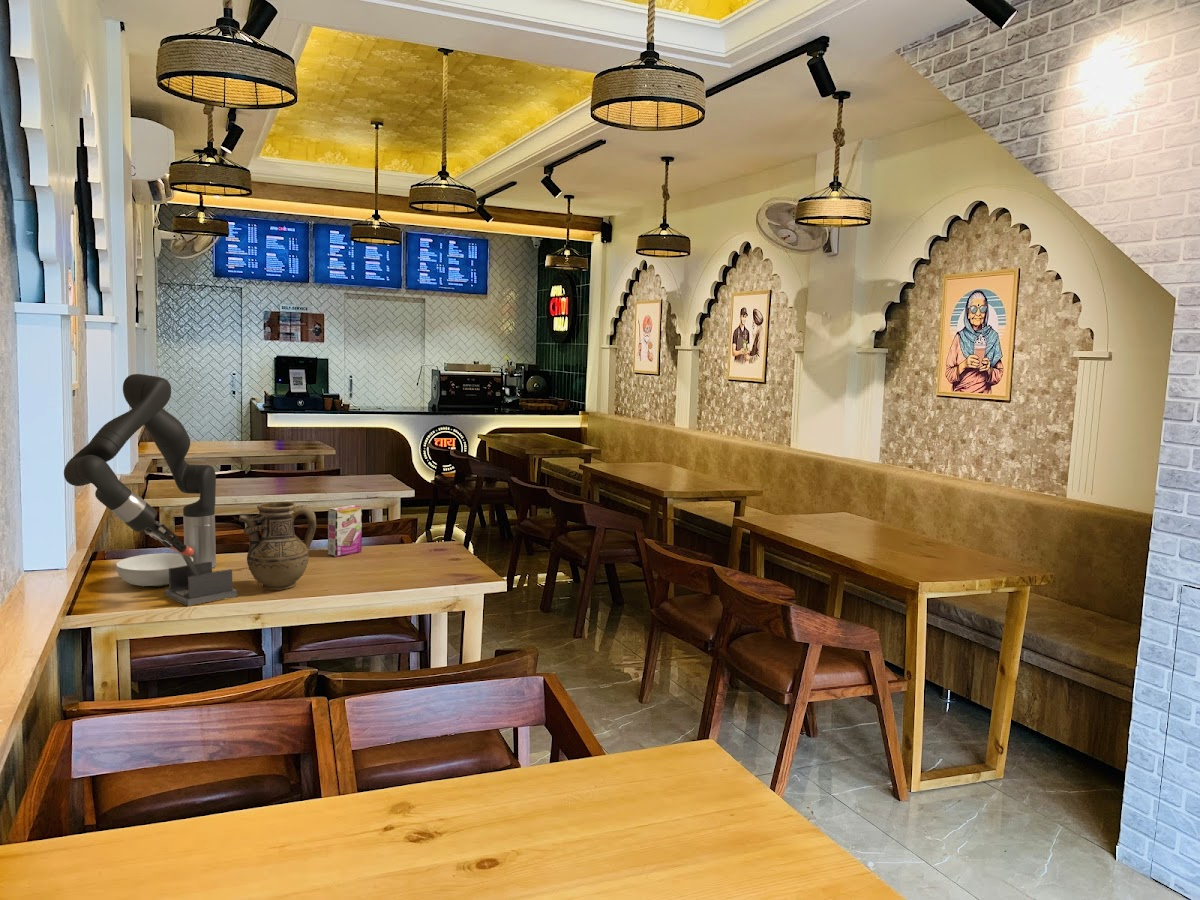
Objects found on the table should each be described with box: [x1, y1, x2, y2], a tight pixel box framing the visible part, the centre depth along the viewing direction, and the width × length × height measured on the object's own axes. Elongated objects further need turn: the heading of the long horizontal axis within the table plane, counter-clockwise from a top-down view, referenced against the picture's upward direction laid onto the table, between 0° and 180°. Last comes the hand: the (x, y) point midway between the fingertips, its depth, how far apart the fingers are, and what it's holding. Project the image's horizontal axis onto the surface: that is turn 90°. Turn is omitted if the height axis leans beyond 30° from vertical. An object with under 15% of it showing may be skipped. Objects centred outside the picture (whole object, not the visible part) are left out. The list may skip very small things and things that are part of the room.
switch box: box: [164, 562, 238, 607], centre depth 257 cm, size 14×15×8 cm
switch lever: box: [169, 546, 199, 576], centre depth 255 cm, size 2×10×13 cm, turn 48°
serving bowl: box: [115, 552, 193, 587], centre depth 271 cm, size 21×21×7 cm
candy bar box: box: [327, 504, 363, 558], centre depth 313 cm, size 11×5×16 cm, turn 144°
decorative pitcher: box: [238, 501, 317, 591], centre depth 268 cm, size 22×18×25 cm
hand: (177, 547), depth 252 cm, fingers open, 8 cm apart
